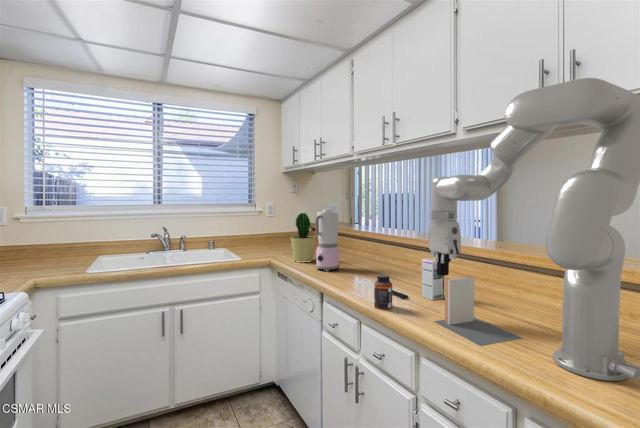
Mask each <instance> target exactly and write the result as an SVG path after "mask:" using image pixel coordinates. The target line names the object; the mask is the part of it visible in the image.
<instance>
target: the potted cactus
mask: <svg viewBox="0 0 640 428" xmlns="http://www.w3.org/2000/svg"><path fill="white" fill-rule="evenodd" d="M311 223H312V221H311V219H310V217H309V215H308V214H306V212H304V213H303V212H300V213H298V215H297V216H296V217H295V222H294V224H295V226H294V227H295V228H296V229H297V231H296V232H297V233H298V234H297V235H294V236H290V242H291V243H290V244H291V249H292V257H293V261H294V260H295V261H311V260H313V261H314V255H315V254H314V252H315V244H316V238H317V237H316V236H314V235H313V236H312V235H309V234H310V229H311V228H310V227H311V225H312V224H311Z"/></svg>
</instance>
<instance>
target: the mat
mask: <svg viewBox="0 0 640 428" xmlns="http://www.w3.org/2000/svg"><path fill="white" fill-rule="evenodd" d="M433 323H435V324H437V325H439V326H441V327H443V328H445V329H447V330H448V331H451V332H453V333H455V334H457V335H458V336H461V337H463V338H464V339H466V340H468V341H470V342H472V343H474V344H476V345H478V346H479V347H483V346H490V345H493V344H501V343H504V342H505V343H506V342H511V341H515V340H520V339H523V337H521V336H519V335H517V334H515V333H512V332H511V331H510V332H509V331H508V330H505V329H503V328H500V327H499V326H496V325H493V324H491V323H488V322H487V321H484V320H481V319H480V318H476V317H475V316H474V321H470V322H464V323H458V324H451V325H449V324H447V323H445V319H439V320H433Z"/></svg>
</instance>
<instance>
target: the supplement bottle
mask: <svg viewBox="0 0 640 428" xmlns="http://www.w3.org/2000/svg"><path fill="white" fill-rule="evenodd" d="M376 279H377V280H376V281H374V291H373V293H374V296H373V297H374V300H373V301H374V304H373V305H374V309H376V310H380V311H381V310H383V311H389V310H391V309H392V308H393V295H392V290H393V283H392V282H391V280H390V275H388V274H384V273H383V274H377V276H376Z"/></svg>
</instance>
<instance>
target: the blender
mask: <svg viewBox="0 0 640 428" xmlns="http://www.w3.org/2000/svg"><path fill="white" fill-rule="evenodd" d="M316 215H317V216H316V217H315V234H316V235H317V239H318V246H317V248H316V253H315V254H316V269H317V268H318V270H324V271H325V270H327V271H329V272H330V270H336V269H337V268H339V269H340V249H339V247H338V244H337V243H338V236H339V212H338V211H333V209H322V211H318V212H317V213H316ZM337 270H338V269H337Z"/></svg>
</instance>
